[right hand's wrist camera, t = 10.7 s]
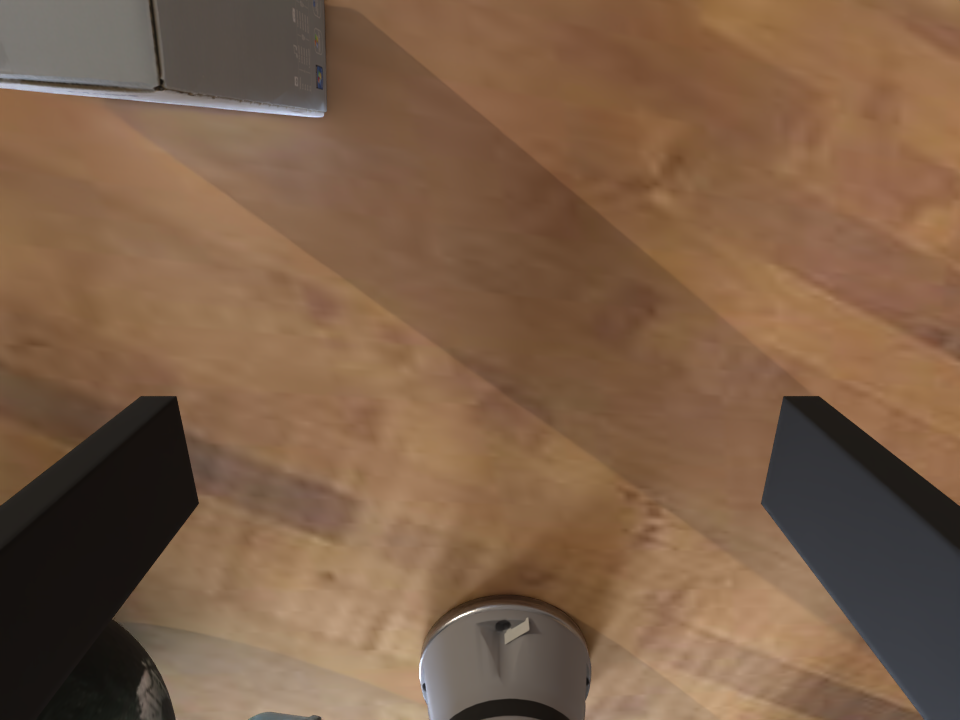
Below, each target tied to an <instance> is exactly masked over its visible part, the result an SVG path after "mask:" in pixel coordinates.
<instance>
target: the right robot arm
mask: <svg viewBox="0 0 960 720" xmlns="http://www.w3.org/2000/svg"><path fill="white" fill-rule="evenodd" d="M198 504H199V502H198V497H197V492H196V487H195V482H194V478H193V473H192V468H191V463H190V459H189V454H188V449H187V444H186V440H185V435H184V430H183V425H182V420H181V416H180V411H179V406H178V401H177V397H176V396H141V397H139V398H138V399H137V400H136V401H134V402H133V403H132V404H131V405H129V406H128V407H127V408H125V409H124V410H123V411H122V412H120V413H119V414H118V415H116V416H115V417H114V418H113V419H111V420H110V421H109V422H107V423H106V424H105V425H104V426H102V427H101V428H100V429H99V430H97V431H96V432H95V433H93V434H92V435H91V436H90V437H88V438H87V439H86V440H84V441H83V442H82V443H81V444H79V445H78V446H77V447H75V448H74V449H73V450H72V451H70V452H69V453H68V454H67V455H65V456H64V457H63V458H61V459H60V460H59V461H58V462H56V463H55V464H54V465H52V466H51V467H50V468H49V469H47V470H46V471H45V472H43V473H42V474H41V475H40V476H38V477H37V478H36V479H35V480H33V481H32V482H31V483H29V484H28V485H27V486H26V487H24V488H23V489H22V490H20V491H19V492H18V493H17V494H15V495H14V496H13V497H11V498H10V499H9V500H8V501H6V502H5V503H4V504H3V505H1V506H0V720H36V719H37V717H38V716H39V715H40V713H41V712H42V711H43V709H44V708H45V707H46V705H47V704H48V703H49V701H50V700H51V699H52V697H53V696H54V695H55V693H56V692H57V691H58V689H59V688H60V687H61V685H62V684H63V683H64V681H65V680H66V679H67V678H68V676H69V675H70V674H71V672H72V671H73V670H74V668H75V667H76V666H77V664H78V663H79V662H80V660H81V659H82V658H83V656H84V655H85V654H86V652H87V651H88V650H89V648H90V647H91V646H92V644H93V643H94V642H95V640H96V639H97V638H98V636H99V635H100V634H101V633H102V631H103V630H104V629H105V627H106V626H107V625H108V623H109V622H110V621H111V619H112V618H113V617H114V615H115V614H116V613H117V611H118V610H119V609H120V607H121V606H122V605H123V603H124V602H125V601H126V599H127V598H128V597H129V595H130V594H131V593H132V591H133V590H134V589H135V587H136V586H137V585H138V584H139V582H140V581H141V580H142V578H143V577H144V576H145V574H146V573H147V572H148V570H149V569H150V568H151V566H152V565H153V564H154V562H155V561H156V560H157V558H158V557H159V556H160V554H161V553H162V552H163V550H164V549H165V548H166V546H167V545H168V544H169V542H170V541H171V540H172V539H173V537H174V536H175V535H176V533H177V532H178V531H179V529H180V528H181V527H182V525H183V524H184V523H185V521H186V520H187V519H188V517H189V516H190V515H191V513H192V512H193V511H194V509H195V508H196V507H197V505H198ZM761 504H762V505H763V507H764V508H765V509H766V511H767V512H768V513H769V515H770V516H771V517H772V519H773V520H774V521H775V523H776V524H777V525H778V527H779V528H780V529H781V531H782V532H783V533H784V535H785V536H786V537H787V539H788V540H789V541H790V542H791V544H792V545H793V546H794V548H795V549H796V550H797V552H798V553H799V554H800V556H801V557H802V558H803V560H804V561H805V562H806V564H807V565H808V566H809V568H810V569H811V570H812V572H813V573H814V574H815V576H816V577H817V578H818V580H819V581H820V582H821V584H822V585H823V586H824V588H825V589H826V590H827V591H828V593H829V594H830V595H831V597H832V598H833V599H834V601H835V602H836V603H837V605H838V606H839V607H840V609H841V610H842V611H843V613H844V614H845V615H846V617H847V618H848V619H849V621H850V622H851V623H852V625H853V626H854V627H855V629H856V630H857V631H858V633H859V634H860V635H861V636H862V638H863V639H864V640H865V642H866V643H867V644H868V646H869V647H870V648H871V650H872V651H873V652H874V654H875V655H876V656H877V658H878V659H879V660H880V662H881V663H882V664H883V666H884V667H885V668H886V670H887V671H888V672H889V674H890V675H891V676H892V678H893V679H894V680H895V681H896V683H897V684H898V685H899V687H900V688H901V689H902V691H903V692H904V693H905V695H906V696H907V697H908V699H909V700H910V701H911V703H912V704H913V705H914V707H915V708H916V709H917V711H918V712H919V713H920V715H921V716H922V717H923V719H924V720H960V506H959V505H957V504H956V503H955V502H954V501H952V500H951V499H950V498H949V497H947V496H946V495H945V494H943V493H942V492H941V491H940V490H938V489H937V488H936V487H934V486H933V485H932V484H931V483H929V482H928V481H927V480H925V479H924V478H923V477H922V476H920V475H919V474H918V473H917V472H915V471H914V470H913V469H911V468H910V467H909V466H908V465H906V464H905V463H904V462H902V461H901V460H900V459H899V458H897V457H896V456H895V455H893V454H892V453H891V452H890V451H888V450H887V449H886V448H885V447H883V446H882V445H881V444H879V443H878V442H877V441H876V440H874V439H873V438H872V437H870V436H869V435H868V434H867V433H865V432H864V431H863V430H861V429H860V428H859V427H858V426H856V425H855V424H854V423H853V422H851V421H850V420H849V419H847V418H846V417H845V416H844V415H842V414H841V413H840V412H838V411H837V410H836V409H835V408H833V407H832V406H831V405H829V404H828V403H827V402H826V401H824V400H823V399H822V398H821V397H819V396H784V397H783V401H782V406H781V411H780V416H779V420H778V425H777V430H776V435H775V440H774V444H773V449H772V454H771V459H770V463H769V468H768V473H767V478H766V482H765V487H764V492H763V497H762V502H761ZM419 673H420V682H421V688H422V692H423V696H424V699H425V701H426V703H427V705H428V713H429V719H430V720H584V718H585V700H586V698H587V696H588V692H589V688H590V681H591V663H590V658H589V653H588V648H587V644H586V641H585V638H584V636H583V634H582V632H581V630H580V629H579V627H578V626H577V625H576V623H575V622H574V621H573V620H572V619H571V618H570V617H569V616H567V615H566V614H565V613H564V612H562V611H561V610H559V609H558V608H556V607H554V606H552V605H550V604H548V603H545V602H543V601H540V600H537V599H533V598H529V597H524V596H516V595H496V596H488V597H483V598H478V599H475V600H472V601H469V602H466V603H464V604H461V605H459V606H457V607H455V608H454V609H452V610H450V611H449V612H447V613H446V614H445V615H444V616H442V617H441V618H440V619H439V620H438V621H437V622H436V623H435V624H434V625H433V627H432V628H431V629H430V631H429V632H428V634H427V636H426V638H425V641H424V643H423V647H422V652H421V661H420V671H419ZM249 720H321V717H319V716H316V715H313V716H311V717H303V716H296V715H288V714H281V713H274V712H265V713H260V714H258V715H256V716H253V717H252V718H250V719H249Z"/></svg>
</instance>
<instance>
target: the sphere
mask: <svg viewBox="0 0 960 720" xmlns="http://www.w3.org/2000/svg"><path fill="white" fill-rule="evenodd" d="M36 720H176V719H175V714H174V710H173V706H172V703H171V699H170V696H169V693H168V690H167V688H166V686H165V683H164V681H163V679H162V676H161V674H160V673H159V671H158V669H157V667H156V665H155V664H154V662H153V661H152V659H151V658H150V656H149V655H148V653H147V652H146V651H145V650H144V648H143V647H142V646H141V645H140V644H139V642H138V641H137V640H136V639H135V638H134V637H133V636H132V635H131V634H130V633H129V632H127V631H126V630H125V629H124V628H123V627H122V626H120V625H119V624H118V623H116V622H115V621H114V620H112V619H111V621H110V622H109V623H108V625H107V626H106V627H105V629H104V630H103V631H102V633H101V634H100V635H99V636H98V638H97V639H96V640H95V642H94V643H93V644H92V646H91V647H90V648H89V650H88V651H87V652H86V654H85V655H84V656H83V658H82V659H81V660H80V662H79V663H78V664H77V666H76V667H75V668H74V670H73V671H72V672H71V674H70V675H69V676H68V678H67V679H66V680H65V681H64V683H63V684H62V685H61V687H60V688H59V689H58V691H57V692H56V693H55V695H54V696H53V697H52V699H51V700H50V701H49V703H48V704H47V705H46V707H45V708H44V709H43V711H42V712H41V713H40V715H39V716H38V717H37V719H36Z"/></svg>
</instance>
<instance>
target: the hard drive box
mask: <svg viewBox="0 0 960 720" xmlns="http://www.w3.org/2000/svg"><path fill="white" fill-rule="evenodd" d="M0 88H7V89H17V90H27V91H37V92H47V93H57V94H68V95H80V96H92V97H103V98H116V99H126V100H137V101H147V102H158V103H169V104H179V105H190V106H200V107H211V108H221V109H231V110H241V111H251V112H261V113H273V114H284V115H295V116H305V117H323V116H324V112H326V111H327V90H326V48H325V13H324V0H0Z"/></svg>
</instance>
